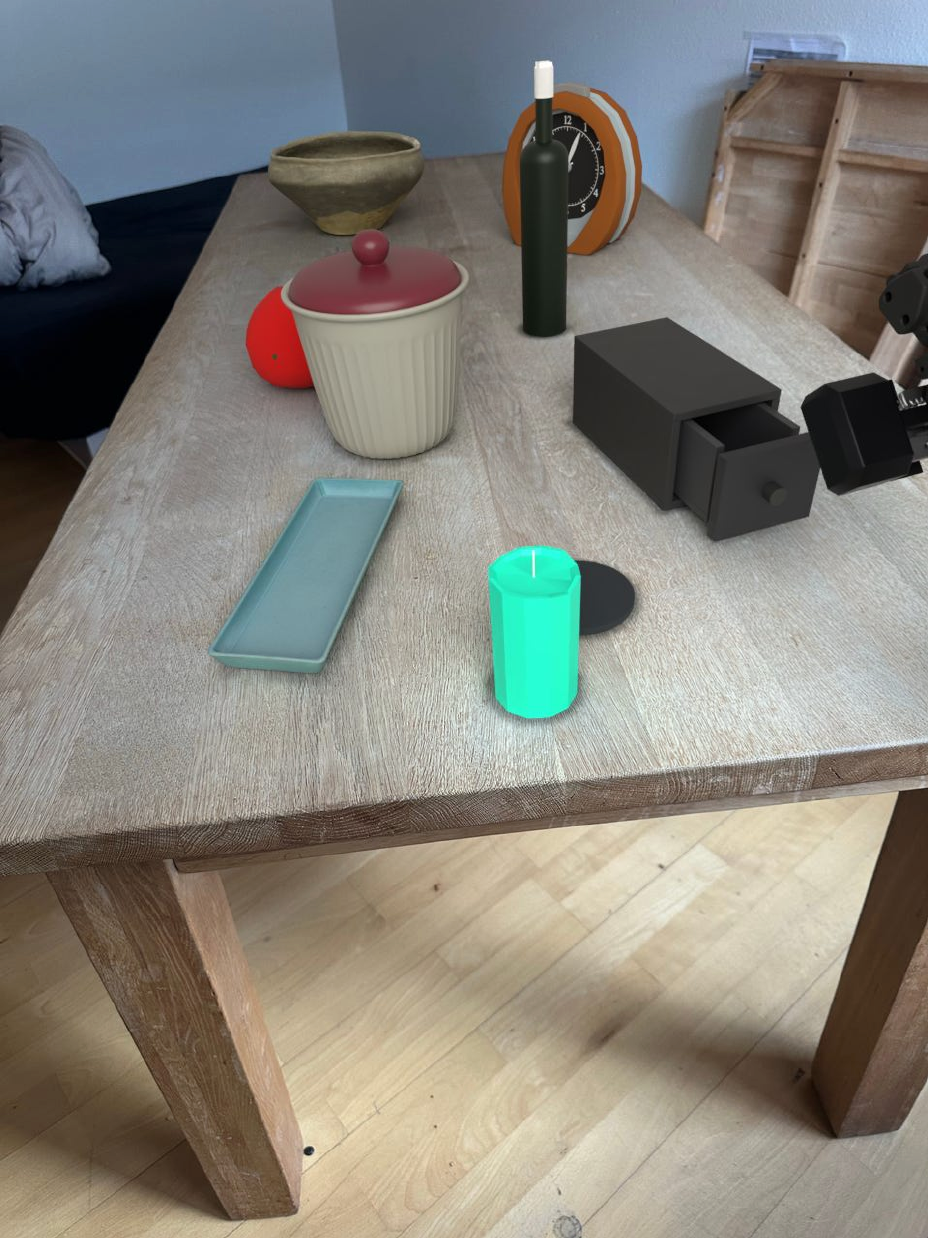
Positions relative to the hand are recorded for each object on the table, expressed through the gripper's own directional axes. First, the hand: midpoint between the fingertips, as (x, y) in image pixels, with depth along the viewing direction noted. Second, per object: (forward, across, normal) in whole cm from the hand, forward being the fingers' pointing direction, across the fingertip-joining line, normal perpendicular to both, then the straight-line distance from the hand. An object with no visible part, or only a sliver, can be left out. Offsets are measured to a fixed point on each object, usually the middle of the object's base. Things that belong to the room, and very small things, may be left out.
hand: (865, 453), depth 58 cm
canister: (+38, +24, -20) cm, 49 cm away
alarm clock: (+77, -22, -59) cm, 99 cm away
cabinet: (+27, 0, -10) cm, 29 cm away
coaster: (+14, +18, +3) cm, 23 cm away
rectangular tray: (+23, +36, -5) cm, 43 cm away
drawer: (+21, 0, -4) cm, 21 cm away
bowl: (+98, +8, -80) cm, 126 cm away
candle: (+9, +25, +9) cm, 28 cm away
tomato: (+52, +29, -34) cm, 68 cm away
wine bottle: (+53, -3, -35) cm, 63 cm away
